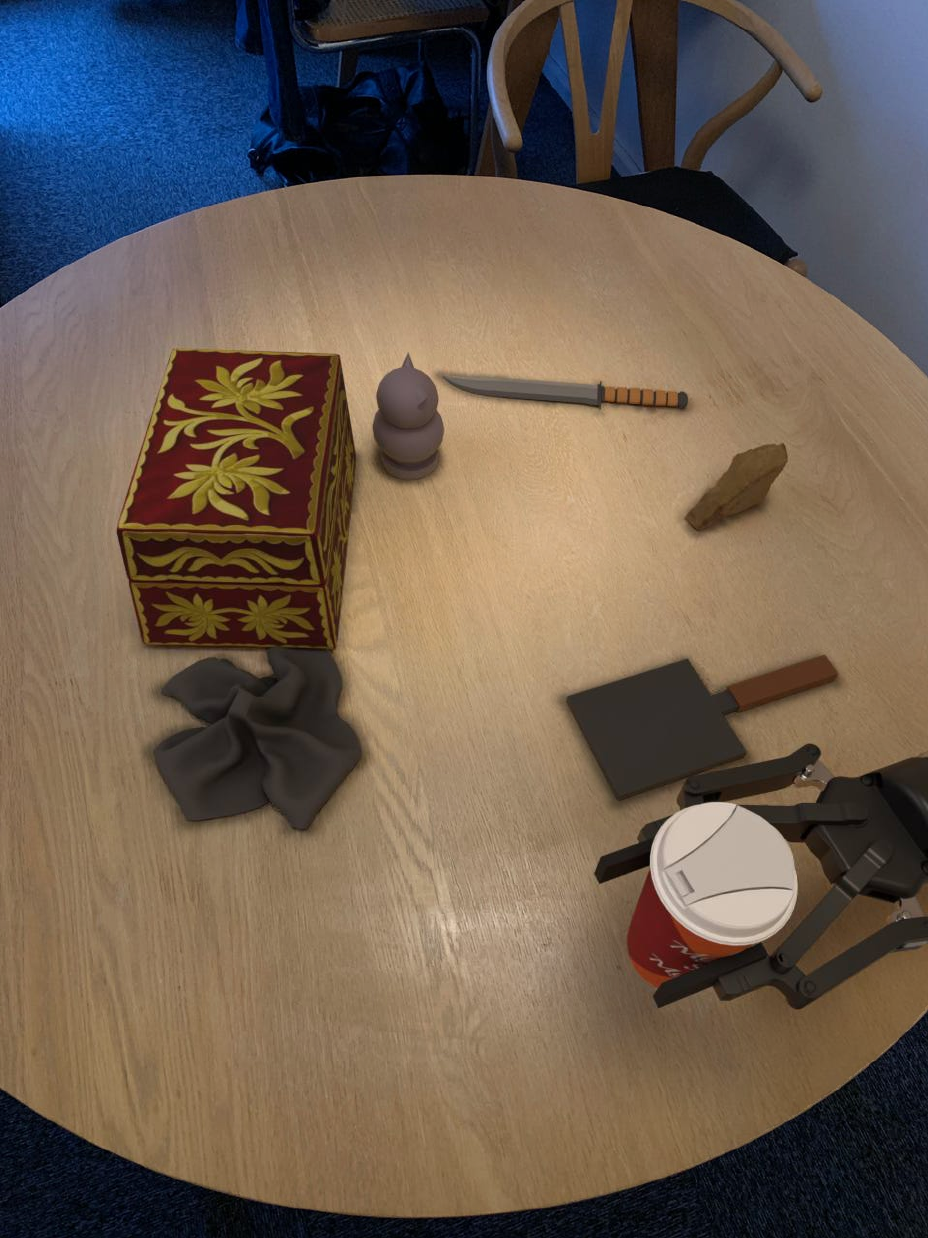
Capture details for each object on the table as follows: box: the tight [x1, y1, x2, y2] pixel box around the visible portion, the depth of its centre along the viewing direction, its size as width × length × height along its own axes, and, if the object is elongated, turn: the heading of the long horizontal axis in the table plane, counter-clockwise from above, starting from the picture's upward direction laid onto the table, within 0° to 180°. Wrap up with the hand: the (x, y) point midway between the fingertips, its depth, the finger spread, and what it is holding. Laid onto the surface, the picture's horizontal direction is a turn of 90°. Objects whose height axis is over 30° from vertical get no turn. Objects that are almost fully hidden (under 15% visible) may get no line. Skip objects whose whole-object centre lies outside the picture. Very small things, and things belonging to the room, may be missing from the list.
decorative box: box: [116, 348, 357, 650], centre depth 92 cm, size 28×19×15 cm
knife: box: [441, 374, 689, 410], centre depth 114 cm, size 30×1×5 cm
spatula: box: [566, 654, 840, 801], centre depth 88 cm, size 11×26×1 cm, turn 111°
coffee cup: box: [626, 802, 799, 989], centre depth 57 cm, size 8×8×15 cm
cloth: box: [153, 647, 363, 830], centre depth 83 cm, size 22×19×6 cm
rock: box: [685, 442, 789, 531], centre depth 102 cm, size 11×9×10 cm
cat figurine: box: [372, 352, 445, 481], centre depth 102 cm, size 8×8×12 cm
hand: (629, 930), depth 55 cm, fingers closed on coffee cup, 7 cm apart
